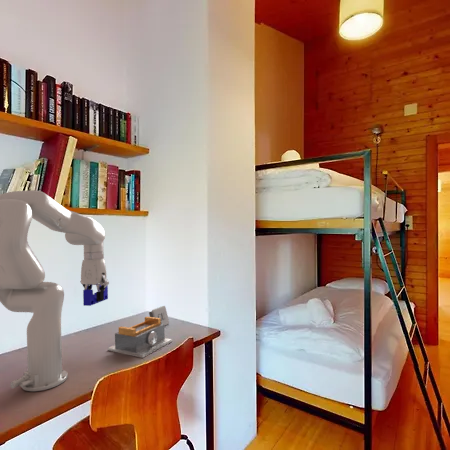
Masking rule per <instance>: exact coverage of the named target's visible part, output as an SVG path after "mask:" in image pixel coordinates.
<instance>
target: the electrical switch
mask: <svg viewBox="0 0 450 450" xmlns="http://www.w3.org/2000/svg"><path fill="white" fill-rule="evenodd" d="M148 314H149V317H155V318H161V324H164V327H165V326H167V325H169V324H170V321H169V315H168V311H167V307H166V305H162V306H160V307H157V308H154V309H152V310H151V311H149V312H148Z"/></svg>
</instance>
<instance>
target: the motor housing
mask: <svg viewBox="0 0 450 450" xmlns="http://www.w3.org/2000/svg"><path fill="white" fill-rule="evenodd" d="M117 330H118V332H115V333H114V345H111V346H109V347H107V351H109V352H114V353H119V354H123V355H126V356H127V355H128V356H132V357H137V358H141V359H143V358H145V357H147V356H149V355H150V354H152V353H154V352H156V351H157V350H160V349H161V348H163V347H165V346H166V345H169V344H170V343H172V342H173V339H172V338H168V337H167V338H166V337H165V326H164V324H161V318H155V317H150V316H145V317H144V321H142V322H140V323H136V324H135V325H132V326H128V327H127V326H118V329H117Z"/></svg>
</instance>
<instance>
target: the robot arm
mask: <svg viewBox="0 0 450 450" xmlns="http://www.w3.org/2000/svg"><path fill="white" fill-rule="evenodd" d="M32 220H34V221H37V222H38V223H40V225H41V224H42V225H43V226H45V227H46V228H48V229H49V230H51V231H53V232H58V233H64V238H65V240H66V242H67V243H69V244H70V245H73V246H83V259H82V262H81V271H80V284H81V285H82V287H83V290H86V289H89V290H92V291H93V292H94V290H93V289H92V288H93V286H95V287H96V289H97V291H96V292H97V293H96V292H95V293H96V296H97V302H99V301H101V302H103V300H104V290H105V288H106V286H107V285H109V284H110V281H109V280H108V279H107V267H106V261H105V259H104V258H105V257H104V255H105V254H104V240H105V238H106V232H105V229H104V228H103V226H102V225H101V224H100V223H99V222H98V221H96V220H95V219H93V218H92V217H89V216H87V215H84V214H81V213H78V212H76V211H72V210H69V209H67V208H66V207H64V206H63V205H62V204H60V203H59V202H57V201H56V200H55V199H53V198H52V197H51V196H49V195H48V194H46V193H45V192H43V191H40V190H33V189H31V190H14V191H8V192H4V193H1V194H0V304H1V305H2V306H3V307H5V309H6V310H8V311H11V313H12V312H14V313H31V314H33V315H32V316H31V319H30V320H29V322H28V323H27V327H26V351H27V352H26V357H27V358H26V359H27V363H26V364H27V370H26V371H24V372H23V375H22V376H21V377H20V378H19V379H15V380H13V381H11V382H10V388H11V389H15V388H17V387H20V388H22V390H23V391H26V392H40V391H46V390H50V389H52V388H55V387H58V386H59V385H61V384H63V383H64V382H66V380H67V379H68V371H66V370H65V369H63V354H62V353H63V352H62V351H63V349H62V311H63V304H64V300H65V292H64V288H63V287H62V286H61V285H60V284H59V283H56V282H52V281H45V278H46V273H45V270H44V267H43V265H42V264H41V262H40V260H39V259H38V258H37V256H36V254H35V252H34V251H33V250H32V248H31V246H30V244H29V242H28V234H29V230H30V226H31V223H32ZM100 285H101V287H100ZM104 301H105V300H104ZM99 303H100V302H99Z"/></svg>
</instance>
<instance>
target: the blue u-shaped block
mask: <svg viewBox="0 0 450 450" xmlns="http://www.w3.org/2000/svg"><path fill="white" fill-rule="evenodd" d="M108 285H109V284H108ZM108 285H107V286H106V288H105V290H104V300H103V301H106V300H108V299H109V286H108ZM100 287H101V285H100ZM92 290H93V289H91V290H89V289H86V290H84V289H83V290H82V291H83V292H82V297H83V306H88V307H90V306H91V307H92V306H93V305H95V304H99V303H101V302H103V301H99V302H97V296H96V293H97V292H98V291H96V292H94V290H93V291H92Z"/></svg>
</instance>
